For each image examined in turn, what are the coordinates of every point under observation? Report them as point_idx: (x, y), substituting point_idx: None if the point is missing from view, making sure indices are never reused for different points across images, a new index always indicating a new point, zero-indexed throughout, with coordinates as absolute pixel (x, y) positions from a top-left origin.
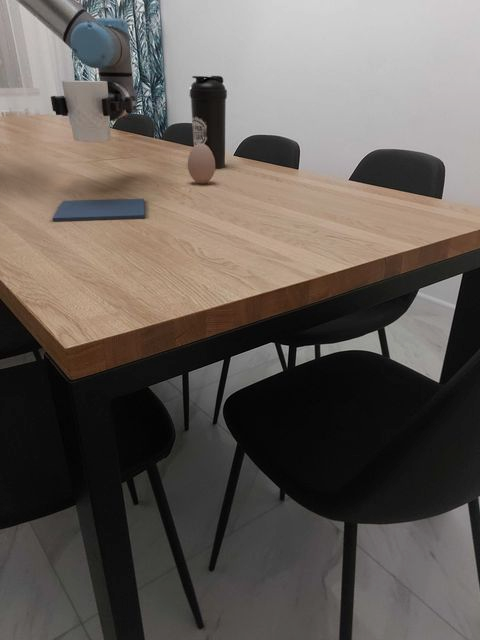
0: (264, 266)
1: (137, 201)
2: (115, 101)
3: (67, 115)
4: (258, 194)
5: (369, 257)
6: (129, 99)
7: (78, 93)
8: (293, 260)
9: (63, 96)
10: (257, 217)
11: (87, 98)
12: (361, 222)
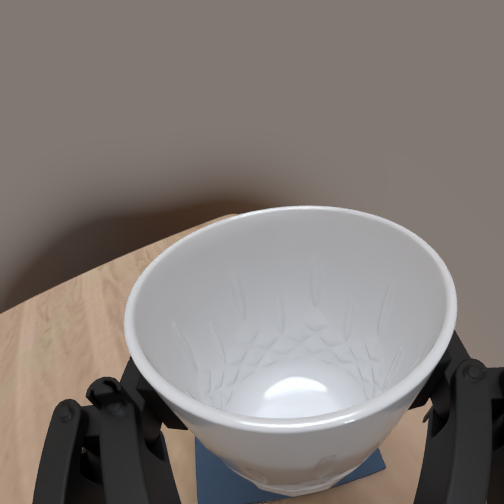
0: (124, 271)
1: (210, 479)
2: (136, 405)
3: (424, 419)
4: (5, 492)
5: (61, 286)
6: (65, 402)
7: (294, 253)
8: (102, 280)
9: (468, 371)
10: (58, 379)
11: (260, 276)
12: (4, 349)
